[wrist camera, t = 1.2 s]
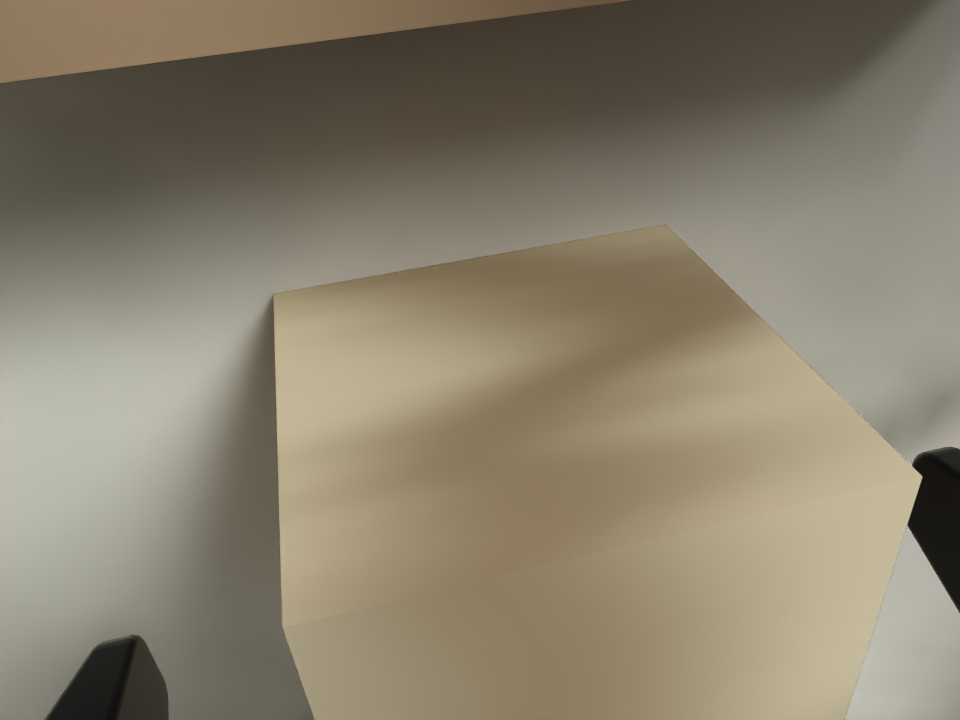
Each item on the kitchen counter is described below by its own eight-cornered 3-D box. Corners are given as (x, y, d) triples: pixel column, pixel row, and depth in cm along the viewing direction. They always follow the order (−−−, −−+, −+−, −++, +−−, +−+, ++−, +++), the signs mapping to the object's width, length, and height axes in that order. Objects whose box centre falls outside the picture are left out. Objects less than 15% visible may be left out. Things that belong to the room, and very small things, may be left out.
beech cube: (662, 221, 10) (922, 477, 6) (646, 500, 13) (819, 799, 9) (273, 291, 10) (282, 627, 6) (345, 569, 12) (386, 925, 8)
